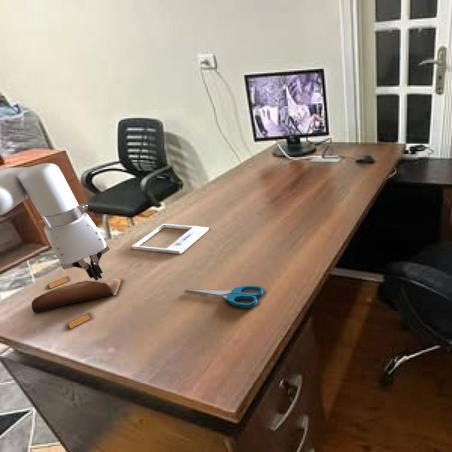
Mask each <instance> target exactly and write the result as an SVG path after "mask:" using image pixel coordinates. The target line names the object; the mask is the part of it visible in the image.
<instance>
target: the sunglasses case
mask: <svg viewBox="0 0 452 452" xmlns="http://www.w3.org/2000/svg"><path fill="white" fill-rule="evenodd" d="M121 283H122V279H121V278H106V279H105V278H104V279H98V280H97V281H96V280H83V281H77V282H73V283H69V284H66V285H63V286H59V287H57V288H56V287H55V288H54V289H51V290H49V291H47V292H44V293H42V294H41V295H38V296H37V297H34V299H33V300H32V301H31V305H30V306H31V311H32V312H33V313H38V312H42V311H46V310H50V309H53V308H57V307H60V306H63V305H68V304H74V303H80V302H82V301H88V300H93V299H98V298H103V297H110V296H116V295H117V293H118V292H119V289H120V287H121Z"/></svg>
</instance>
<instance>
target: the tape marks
mask: <svg viewBox="0 0 452 452" xmlns="http://www.w3.org/2000/svg"><path fill="white" fill-rule="evenodd" d="M67 282H68V279H67V278H66V277H63V278H61V279H59V280H56V281H54V282H52V283H50V284H48V287H49V288H50V289H53V288H56V287H57V286H59V285H62V284H65V283H67ZM90 320H91V318H90V316H89V315H88V314H85V315H82V316H81V317H78V318H76V319H74V320H72V321H70V322H68V327H69V329H70V330H72V329H74V328H76V327H77V326H79V325H82V324H83V323H86V322H88V321H90Z"/></svg>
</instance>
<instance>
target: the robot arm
mask: <svg viewBox="0 0 452 452" xmlns="http://www.w3.org/2000/svg"><path fill="white" fill-rule="evenodd" d="M27 199H30V200H31V203H32V204H33V205H34V207H35V209H36V211H37V212H38V214H39V216H40V217H41V219H42V221H43V222H44V224H45V225H44V227H43V231H44V235H45V237H46V239H47V241H48V243H49V245H50V247H51V249H52V251H53V253H54V254H55V257H56V258H57V259H58V260H59V261H60V266H61V268H62V270H69V269H72V268H77V269H83V270H84V271H85V272H86V274H87V275H88V277H89V279H94V281H97V280H102V279H103V276H102V274H103V273H104V272H103V270H102V267H100V260H101V258H102V256H104V255H105V254H106V253H107V252H109V251H110V247H109V246H108V245H107V243H106V241H105V239H104V237H103V235H102V234H101V232H100V230H99V229H98V227H97V226H96V224H95V223H94V221H93V220H92V218H91V217H90V216H89V215H88V213H87V212H84V211H85V210H88V209H89V207H88V204H86V203H81V204H80V203H78V201H77V199H76V198H75V195H74V193H73V192H72V190H71V188H70V186H69V183H68V182H67V180H66V178H65V175H64V174H63V172H62V171H61V169H60V167H59V166H58V165H56V164H55V163H52V162H51V163H50V162H49V163H47V162H45V163H39V164H35V165H32V166H25V167H22V166H20V167H18V166H17V167H6V168H1V169H0V216H3V215H5V214H7V213H8V212H10V211H11V210H13V209H14V208H15V207H17V206H18V205H19V204H21V203H22V202H24V201H26V200H27ZM88 257H89V259H90V261H89V262H86V261H85V260H84V259H86V258H88Z"/></svg>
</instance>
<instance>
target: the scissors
mask: <svg viewBox="0 0 452 452" xmlns="http://www.w3.org/2000/svg"><path fill="white" fill-rule="evenodd" d="M186 290H187V292H191V293H197V294H198V293H199V294H205V295H210V296H216V297H221V298H223V299H225V300H226V302H227V303H229V305H233V306H235V307H237V308H245V309H251V308H253V307H255V306H257V304H258V299H259V298H260V297H262V296H263V295H264V290H263V287H262V286H259V285H244V286H243V285H242V286H238V287H234V288H233V289H228V290H215V289H214V290H213V289H194V288H193V289H192V288H187V289H186ZM244 291H259V292H257V293H248V292H244ZM238 300H251V301H252V302H249V303H244V302H238Z"/></svg>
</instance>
